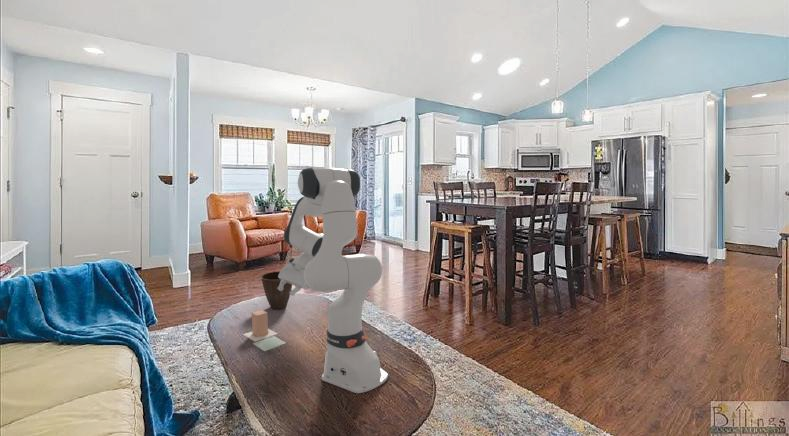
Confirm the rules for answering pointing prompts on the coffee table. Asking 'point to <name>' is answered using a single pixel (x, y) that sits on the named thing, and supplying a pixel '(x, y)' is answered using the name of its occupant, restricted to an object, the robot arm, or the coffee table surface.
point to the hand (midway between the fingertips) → (284, 292)
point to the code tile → (255, 338)
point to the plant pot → (275, 290)
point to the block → (259, 323)
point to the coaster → (269, 343)
